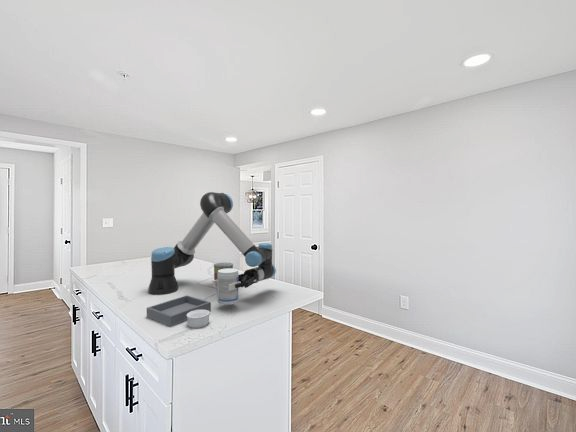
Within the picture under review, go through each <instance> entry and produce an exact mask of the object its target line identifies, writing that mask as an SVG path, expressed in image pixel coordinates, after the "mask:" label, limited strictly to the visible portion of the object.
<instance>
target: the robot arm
mask: <svg viewBox="0 0 576 432" xmlns="http://www.w3.org/2000/svg"><path fill="white" fill-rule="evenodd" d="M199 205H200V209H201V211H202V214H201V215H200V216H199V217H198V219H197V221H196V222H195V223H194V225H192V227H191V229H189V231H188V233H187V234H186V235H185V236H184V238H183V240H180V241H178V242H177V243H176V244H175V246H174V247H172V246H164V247H159V248H155V249H154V250H152V252H151V257H150V259H151V260H150V261H151V265H150V266H151V279H150V282H149V285H148V289H147V291H148V292H147V293H148V294H151V295H167V294H171V293H174V292H176V291H178V290H179V284H178V281H177V279H176V274H175V269H178V268H181V267H185V266H187V265H189V264H191V262H193V260H194V259H195V258H194V257H195V253H196V248H197V247H198V245H199V244H200V242H201V241H202V240H203V239H204V238H205V236H206V235H207V233H208V232H209V231H210V229H211V228H212V227H213V226H214V224H215V225H216V226H217V227H218V228H219V229H220V230H221V232H223V234H224V235H225V236H226V237H227V238H228V239H229V241H230V242H231V243H232V244H233V245H234V246H235V247H236V249H237V250H238V251H239V252H240V253H241V254H242V255H243V256H244V260H245V261H244V262H245V264H246V265H247V266H248V267H250V268H249V269H246V270H245V271H244V272H243V273H239V274H238V277H239V281H238V282H235V283H232V284H229V290H228V291H231V290H234V289H237V288H238V289H239V288H244V289H247V288H249V287H250V286H252V285H253V284H257V283H258V282H261V281H265V280H268V279H270V278H273V277H274V276H276V275H275V274H276V273H277V270H276V266H275V265H274V264H273V251H274V250H273V245H272V243H268V242H261V243H259V244H258V247H257V246H256V245H255V244H254V242H253V241H252V240H251V239H250V238H249V237H248V236H247V235H246V234H245V232H243V230H242V229H241V228H240V227H239V226H238V224H237V223H235V221H234V220H233V219H232V218H231V217H230V216H229V215H228V213H230V212H231V211H232V210H233V207H234V202H233V199H232V197H231V196H230V195H229V194H227V193H224V192H213V191H211V192H206V193H205V194H203V196H202V197H201V198H200V201H199ZM212 287H217V280H214V279H213V280H212Z"/></svg>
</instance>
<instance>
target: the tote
mask: <svg viewBox="0 0 576 432" xmlns="http://www.w3.org/2000/svg"><path fill="white" fill-rule="evenodd" d="M194 310H208V311H209V312H212V302H211V301H209V300H204V299H201V298H197V297H196V296H195V297H194V296H191V295H183V296H181V297H177V298H173V299H170V300H168V301H164V302H161V303H158V304H154V305H151V306H148V307H146V318H148V319H150V318H151V319H150V320H154V321H155V320H156V321H155V322H157V323H160V322H161V323H160V324H163V325H165V324H166V325H165V326H168V327H170V326H172V327H174V326H177V325H179V324H181V323H184V322H188V320H187V314H188V313H189V312H191V311H194Z"/></svg>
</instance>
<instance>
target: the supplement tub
mask: <svg viewBox="0 0 576 432" xmlns="http://www.w3.org/2000/svg"><path fill="white" fill-rule="evenodd" d="M238 275H239V269H237V268H234V267H233V268H226V269H220V270H218V275H217V286H216V287H217V302H218V304H220V305H223V306H225V305H226V306H228V305H229V306H230V305H233V304H236V303H238V301H239V288H237V289H234V290H231V291H228V290H229V284H232V283H235V282H238V281H239V277H238Z"/></svg>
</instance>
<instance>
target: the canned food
mask: <svg viewBox="0 0 576 432" xmlns="http://www.w3.org/2000/svg"><path fill="white" fill-rule="evenodd" d="M226 268H233V269H234V263H232V262H219V263H218V262H217V263H214V264H213V276H214V278H213V280H217V275H218V270H220V269H226Z"/></svg>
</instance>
